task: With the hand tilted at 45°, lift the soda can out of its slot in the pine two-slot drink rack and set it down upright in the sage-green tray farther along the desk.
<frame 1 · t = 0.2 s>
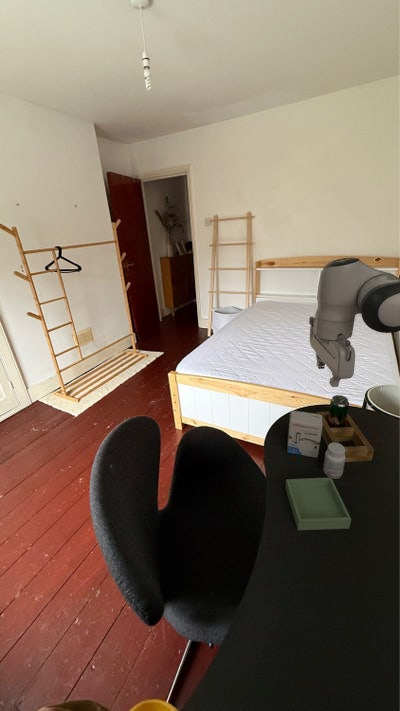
hand: (326, 376, 79), 23 cm above the table, tool pointing down, fingers open, 8 cm apart
soda can: (335, 431, 93), resting in rack
rack: (340, 439, 90), on the table
tray: (314, 506, 70), on the table
pill bottle: (332, 472, 79), on the table
ink box: (302, 450, 87), on the table
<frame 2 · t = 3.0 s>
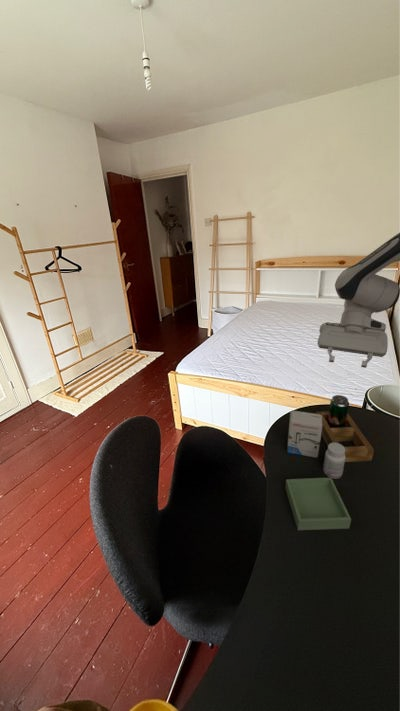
hand: (347, 364, 95), 18 cm above the table, tool tilted 45°, fingers open, 8 cm apart
nothing on the table moved.
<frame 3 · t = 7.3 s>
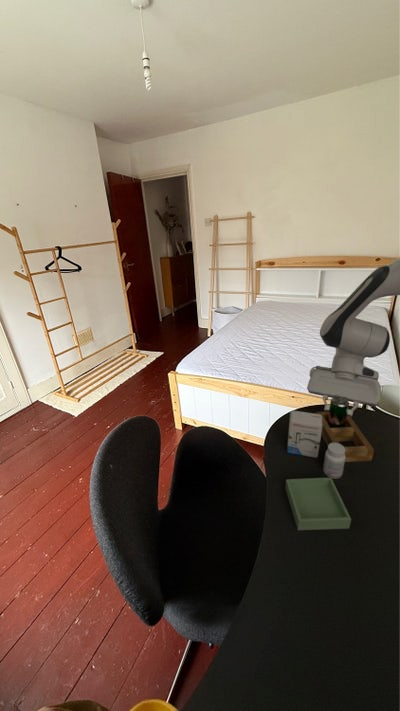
hand: (338, 413, 89), 7 cm above the table, tool tilted 45°, fingers closed on soda can, 5 cm apart
soda can: (335, 431, 93), resting in rack, touching gripper
everything else where it was.
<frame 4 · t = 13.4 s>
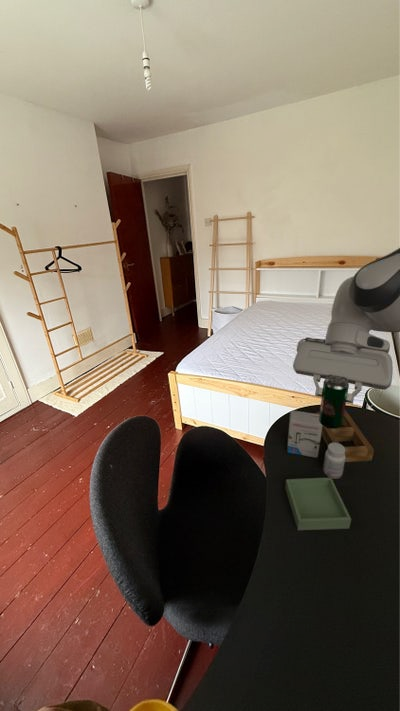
hand: (333, 399, 66), 25 cm above the table, tool tilted 45°, fingers closed on soda can, 5 cm apart
soda can: (330, 424, 69), point 18 cm above the table, touching gripper
everything else where it was.
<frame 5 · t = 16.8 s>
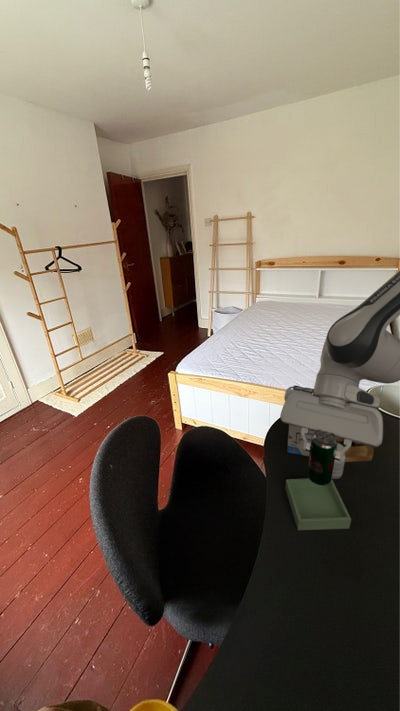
hand: (322, 455, 63), 17 cm above the table, tool tilted 45°, fingers closed on soda can, 5 cm apart
soda can: (318, 478, 66), point 9 cm above the table, touching gripper
everything else where it was.
when the fingers open (8 cm above the table, at t = 19.7 s): soda can stays where it is, resting on tray.
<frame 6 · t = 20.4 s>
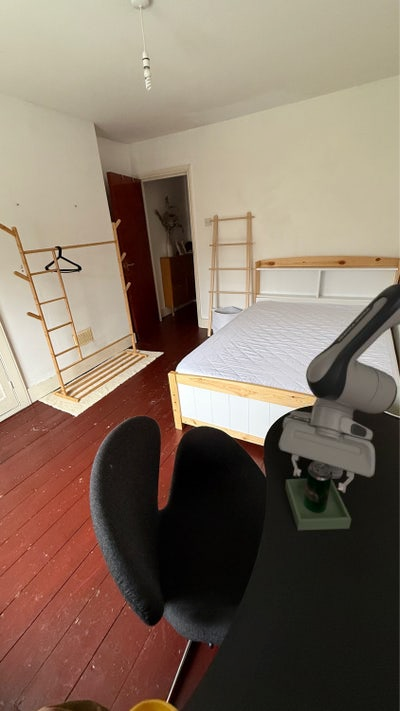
hand: (318, 484, 66), 8 cm above the table, tool tilted 45°, fingers open, 8 cm apart
soda can: (314, 505, 70), resting on tray
everything else where it was.
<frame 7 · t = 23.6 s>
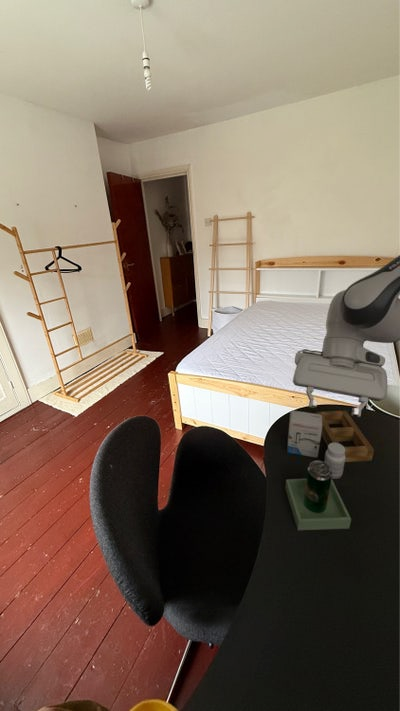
hand: (333, 411, 68), 21 cm above the table, tool tilted 40°, fingers open, 8 cm apart
nothing on the table moved.
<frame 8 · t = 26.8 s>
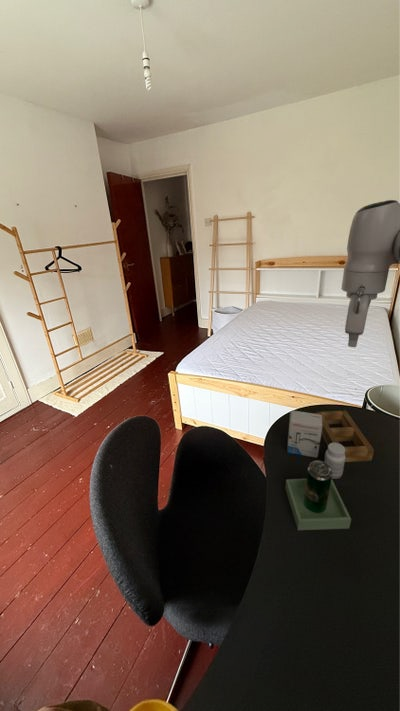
hand: (354, 338, 73), 34 cm above the table, tool pointing down, fingers open, 8 cm apart
nothing on the table moved.
at the end: soda can inside the target area in the tray (0.1 cm from its centre), point 0.4 cm above the tray's base; soda can tilted 0°; soda can touching tray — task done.
